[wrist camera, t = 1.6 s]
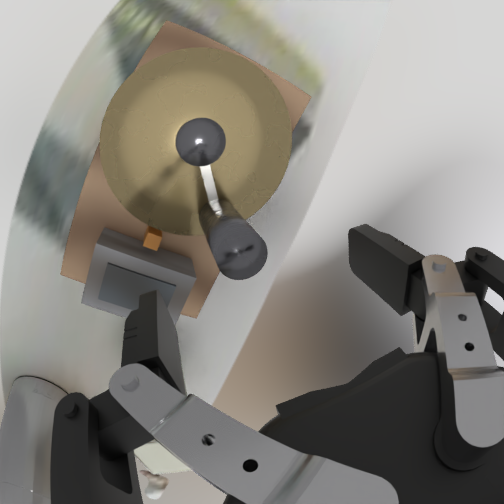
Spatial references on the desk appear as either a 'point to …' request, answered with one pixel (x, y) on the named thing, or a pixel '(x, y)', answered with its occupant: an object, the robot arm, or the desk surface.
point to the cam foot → (199, 150)
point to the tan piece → (142, 235)
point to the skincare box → (159, 457)
